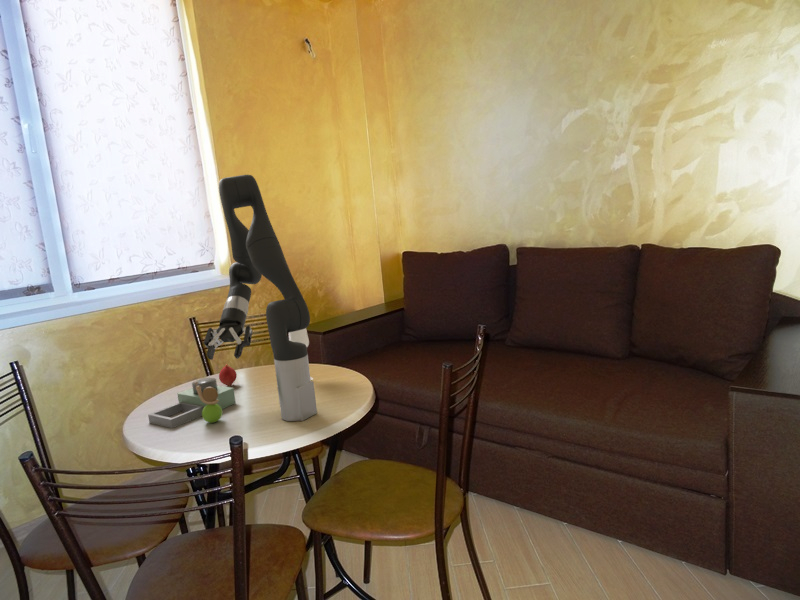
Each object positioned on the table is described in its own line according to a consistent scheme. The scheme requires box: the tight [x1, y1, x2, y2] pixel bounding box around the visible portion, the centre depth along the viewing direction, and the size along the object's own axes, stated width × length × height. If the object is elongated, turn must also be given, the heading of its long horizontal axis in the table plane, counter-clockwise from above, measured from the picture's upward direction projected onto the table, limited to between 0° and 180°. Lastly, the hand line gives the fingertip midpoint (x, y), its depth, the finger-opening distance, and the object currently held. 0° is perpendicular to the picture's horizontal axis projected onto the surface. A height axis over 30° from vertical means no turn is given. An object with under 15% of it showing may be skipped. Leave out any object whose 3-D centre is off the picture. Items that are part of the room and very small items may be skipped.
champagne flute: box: [288, 328, 314, 381], centre depth 177 cm, size 7×7×24 cm
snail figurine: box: [195, 382, 223, 424], centre depth 145 cm, size 5×6×12 cm
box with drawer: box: [147, 377, 236, 429], centre depth 155 cm, size 14×21×8 cm, turn 148°
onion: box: [218, 363, 237, 387], centre depth 179 cm, size 6×6×8 cm
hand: (223, 357), depth 155 cm, fingers open, 8 cm apart
